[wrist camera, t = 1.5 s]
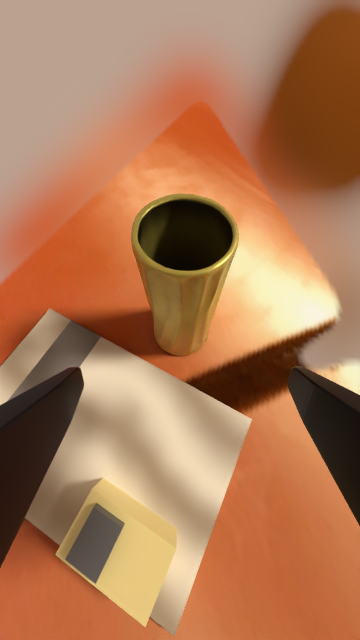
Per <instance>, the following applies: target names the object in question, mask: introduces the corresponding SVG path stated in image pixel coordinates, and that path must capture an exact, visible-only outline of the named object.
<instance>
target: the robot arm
mask: <svg viewBox="0 0 360 640" xmlns="http://www.w3.org/2000/svg"><path fill="white" fill-rule="evenodd" d="M288 388H289V391H290V393H291V395H292V398H293V400H294V402H295V405H296V407H297V410H298V412H299V414H300V417H301V419H302V421H303V423H304V425H305V427H306V429H307V430H308V432H309V434H310V436H311V438H312V440H313V441H314V443H315V445H316V447H317V449H318V451H319V452H320V454H321V456H322V458H323V460H324V462H325V463H326V465H327V467H328V469H329V471H330V473H331V474H332V476H333V478H334V480H335V482H336V484H337V485H338V487H339V489H340V491H341V493H342V495H343V496H344V498H345V500H346V502H347V504H348V506H349V507H350V509H351V511H352V513H353V515H354V517H355V518H356V520H357V522H358V524H359V526H360V395H358V394H356V393H354V392H352V391H350V390H348V389H346V388H344V387H342V386H340V385H338V384H336V383H334V382H332V381H330V380H328V379H326V378H324V377H322V376H320V375H318V374H316V373H314V372H312V371H310V370H308V369H306V368H304V367H293V368H292V369H291V372H290V375H289V379H288ZM83 389H84V380H83V375H82V371H81V368H79V367H69V368H67V369H65V370H63V371H62V372H60V373H58V374H56V375H54V376H52V377H51V378H49V379H47V380H45V381H43V382H41V383H40V384H38V385H36V386H34V387H32V388H31V389H29V390H27V391H25V392H23V393H21V394H20V395H18V396H16V397H14V398H12V399H10V400H9V401H7V402H5V403H3V404H1V405H0V568H1V566H2V563H3V561H4V559H5V557H6V555H7V553H8V551H9V549H10V547H11V545H12V543H13V541H14V539H15V537H16V535H17V533H18V531H19V529H20V526H21V524H22V522H23V520H24V518H25V516H26V514H27V512H28V510H29V508H30V506H31V504H32V502H33V500H34V498H35V496H36V494H37V492H38V490H39V487H40V485H41V483H42V481H43V479H44V477H45V475H46V473H47V471H48V469H49V467H50V465H51V463H52V461H53V459H54V457H55V455H56V453H57V450H58V448H59V446H60V444H61V442H62V440H63V438H64V436H65V434H66V432H67V430H68V428H69V426H70V424H71V421H72V419H73V416H74V413H75V411H76V408H77V405H78V402H79V400H80V397H81V394H82V391H83Z"/></svg>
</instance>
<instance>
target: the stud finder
mask: <svg viewBox="0 0 360 640" xmlns="http://www.w3.org/2000/svg"><path fill="white" fill-rule="evenodd" d="M176 549H177V528H175V527H174V526H172V525H171V524H170V523H168V522H167V521H165V520H164V519H162V518H161V517H159V516H158V515H156V514H155V513H154V512H152V511H151V510H149V509H148V508H146V507H145V506H143V505H142V504H141V503H139V502H138V501H136V500H135V499H133V498H132V497H130V496H129V495H127V494H126V493H125V492H123V491H122V490H120V489H119V488H117V487H116V486H114V485H113V484H111V483H110V482H109V481H107V480H106V479H104V478H102V479H101V480H100V481H99V482H98V483H97V484H96V485H95V486H94V487H93V488H92V490H91V492H90V493H89V495H88V497H87V499H86V500H85V502H84V504H83V506H82V508H81V509H80V511H79V513H78V515H77V517H76V518H75V520H74V522H73V524H72V526H71V527H70V529H69V531H68V533H67V534H66V536H65V538H64V540H63V542H62V543H61V545H60V547H59V549H58V551H57V552H56V554H55V555H56V556H57V557H59V558H60V559H61V560H62V561H64V562H65V563H66V564H67V565H68V566H70V567H71V568H72V569H73V570H75V571H76V572H77V573H78V574H80V575H81V576H82V577H83V578H85V579H86V580H87V581H88V582H90V583H91V584H92V585H93V586H95V587H96V588H97V589H98V590H100V591H101V592H102V593H103V594H105V595H106V596H107V597H108V598H109V599H111V600H112V601H113V602H114V603H116V604H117V605H118V606H119V607H121V608H122V609H123V610H124V611H126V612H127V613H128V614H129V615H131V616H132V617H133V618H134V619H136V620H137V621H138V622H139V623H141V624H142V625H143V626H144V627H146V624H147V622H148V619H149V617H150V614H151V612H152V609H153V607H154V604H155V602H156V599H157V597H158V594H159V592H160V589H161V587H162V584H163V582H164V579H165V576H166V574H167V571H168V569H169V566H170V564H171V561H172V559H173V556H174V554H175V551H176Z"/></svg>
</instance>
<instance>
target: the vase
mask: <svg viewBox="0 0 360 640" xmlns="http://www.w3.org/2000/svg"><path fill="white" fill-rule="evenodd" d="M238 240H239V234H238V228H237V225H236V222H235V221H234V219H233V217H232V216H231V215H230V213H229V212H228V211H227V210H226V209H225V208H224V207H223V206H222V205H220V204H219V203H217V202H215V201H213V200H211V199H208V198H205V197H201V196H197V195H192V194H173V195H168V196H165V197H162V198H159V199H157V200H154V201H152V202H150V203H149V204H147V205H146V206H145V207H144V208H143V209H142V210H141V211H140V212H139V213H138V214H137V216H136V218H135V220H134V222H133V227H132V234H131V242H132V249H133V253H134V256H135V259H136V262H137V265H138V269H139V272H140V275H141V278H142V281H143V285H144V289H145V292H146V296H147V299H148V302H149V305H150V308H151V311H152V315H153V322H154V337H155V339H156V341H157V343H158V345H159V346H160V347H161V348H162V349H163V350H165V351H166V352H168V353H170V354H173V355H178V356H185V355H190V354H193V353H195V352H196V351H198V350H199V349H200V348H201V347H202V346H203V345H204V343H205V342H206V340H207V337H208V332H209V327H210V324H211V321H212V318H213V315H214V312H215V309H216V306H217V303H218V300H219V297H220V294H221V291H222V288H223V285H224V282H225V279H226V276H227V273H228V271H229V268H230V265H231V263H232V260H233V257H234V255H235V252H236V249H237V246H238Z"/></svg>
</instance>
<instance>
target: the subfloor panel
mask: <svg viewBox="0 0 360 640" xmlns="http://www.w3.org/2000/svg"><path fill="white" fill-rule="evenodd" d="M69 367H79V368H81V371H82V375H83V380H84V389H83V391H82V394H81V397H80V400H79V402H78V405H77V408H76V411H75V413H74V416H73V419H72V421H71V424H70V426H69V428H68V430H67V432H66V434H65V436H64V438H63V440H62V442H61V444H60V446H59V448H58V450H57V453H56V455H55V457H54V459H53V461H52V463H51V465H50V467H49V469H48V471H47V473H46V475H45V477H44V479H43V481H42V483H41V485H40V487H39V490H38V492H37V494H36V496H35V498H34V500H33V502H32V504H31V506H30V508H29V510H28V512H27V514H26V516H25V519H27V520H28V521H29V522H31V523H32V524H33V525H34V526H36V527H37V528H38V529H39V530H41V531H42V532H43V533H44V534H46V535H47V536H48V537H49V538H51V539H52V540H53V541H55V542H56V543H57V544H58V545H61V543H62V542H63V540H64V538H65V536H66V534H67V533H68V531H69V529H70V527H71V526H72V524H73V522H74V520H75V518H76V517H77V515H78V513H79V511H80V509H81V508H82V506H83V504H84V502H85V500H86V499H87V497H88V495H89V493H90V492H91V490H92V488H93V487H94V486H95V485H96V484H97V483H98V482H99V481H100V480H101V479H102V478H104V479H106V480H107V481H109V482H110V483H111V484H113V485H114V486H116V487H117V488H119V489H120V490H122V491H123V492H125V493H126V494H127V495H129V496H130V497H132V498H133V499H135V500H136V501H138V502H139V503H141V504H142V505H143V506H145V507H146V508H148V509H149V510H151V511H152V512H154V513H155V514H156V515H158V516H159V517H161V518H162V519H164V520H165V521H167V522H168V523H170V524H171V525H172V526H174V527H175V528H177V549H176V551H175V554H174V556H173V559H172V561H171V564H170V566H169V569H168V571H167V574H166V576H165V579H164V582H163V584H162V587H161V589H160V592H159V594H158V597H157V599H156V602H155V604H154V607H153V609H152V612H151V614H150V617H151V618H152V619H153V620H154V621H156V622H157V623H158V624H159V625H161V626H162V627H163V628H164V629H166V630H167V631H168V632H170V633H171V634H172V635H173V636H175V633H176V630H177V627H178V625H179V622H180V619H181V616H182V613H183V611H184V608H185V605H186V602H187V599H188V597H189V594H190V591H191V588H192V585H193V583H194V580H195V577H196V574H197V571H198V569H199V566H200V563H201V560H202V557H203V555H204V552H205V549H206V546H207V543H208V541H209V538H210V535H211V532H212V529H213V527H214V524H215V521H216V518H217V515H218V513H219V510H220V507H221V504H222V501H223V499H224V496H225V493H226V490H227V487H228V485H229V482H230V479H231V476H232V473H233V471H234V468H235V465H236V462H237V459H238V457H239V454H240V451H241V448H242V445H243V443H244V440H245V437H246V434H247V431H248V429H249V426H250V423H251V420H252V419H250V418H248V417H246V416H245V415H243V414H241V413H239V412H237V411H235V410H234V409H232V408H230V407H228V406H226V405H225V404H223V403H221V402H219V401H217V400H215V399H214V398H212V397H210V396H208V395H206V394H205V393H203V392H201V391H199V390H197V389H195V388H194V387H192V386H190V385H188V384H186V383H184V382H183V381H181V380H179V379H177V378H175V377H174V376H172V375H170V374H168V373H166V372H164V371H163V370H161V369H159V368H157V367H155V366H154V365H152V364H150V363H148V362H146V361H144V360H143V359H141V358H139V357H137V356H135V355H134V354H132V353H130V352H128V351H126V350H124V349H123V348H121V347H119V346H117V345H115V344H114V343H112V342H110V341H108V340H106V339H104V338H103V337H101V336H99V335H97V334H95V333H93V332H92V331H90V330H88V329H86V328H84V327H83V326H81V325H79V324H77V323H75V322H73V321H72V320H70V319H68V318H66V317H64V316H63V315H61V314H59V313H57V312H55V311H53V310H52V309H49V310H48V311H47V313H46V314H45V315H44V316H43V317H42V318H41V320H40V321H39V322H38V323H37V324H36V325H35V327H34V328H33V329H32V330H31V331H30V332H29V334H28V335H27V336H26V337H25V338H24V340H23V341H22V342H21V343H20V344H19V345H18V347H17V348H16V349H15V350H14V351H13V352H12V354H11V355H10V356H9V357H8V358H7V359H6V361H5V362H4V363H3V364H2V365H1V367H0V405H1V404H3V403H5V402H7V401H9V400H10V399H12V398H14V397H16V396H18V395H20V394H21V393H23V392H25V391H27V390H29V389H31V388H32V387H34V386H36V385H38V384H40V383H41V382H43V381H45V380H47V379H49V378H51V377H52V376H54V375H56V374H58V373H60V372H62V371H63V370H65V369H67V368H69Z"/></svg>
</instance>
